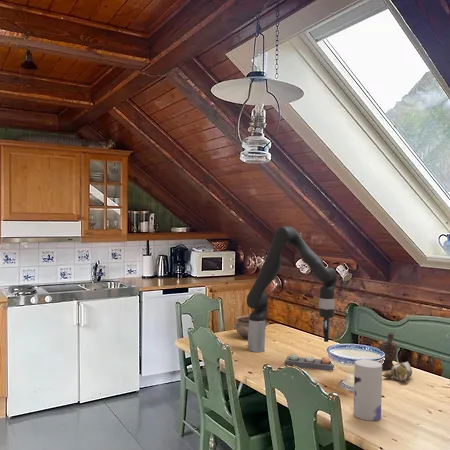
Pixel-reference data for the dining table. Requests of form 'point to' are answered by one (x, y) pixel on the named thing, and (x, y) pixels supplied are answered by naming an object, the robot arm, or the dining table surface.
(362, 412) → the container
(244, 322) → the cooking pot
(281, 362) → the dining table surface
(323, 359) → the terracotta button
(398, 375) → the ceramic sculpture
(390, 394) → the dining table surface
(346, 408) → the dining table surface
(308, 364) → the control strip
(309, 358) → the cream button
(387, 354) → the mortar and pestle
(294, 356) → the sage button
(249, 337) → the robot arm
